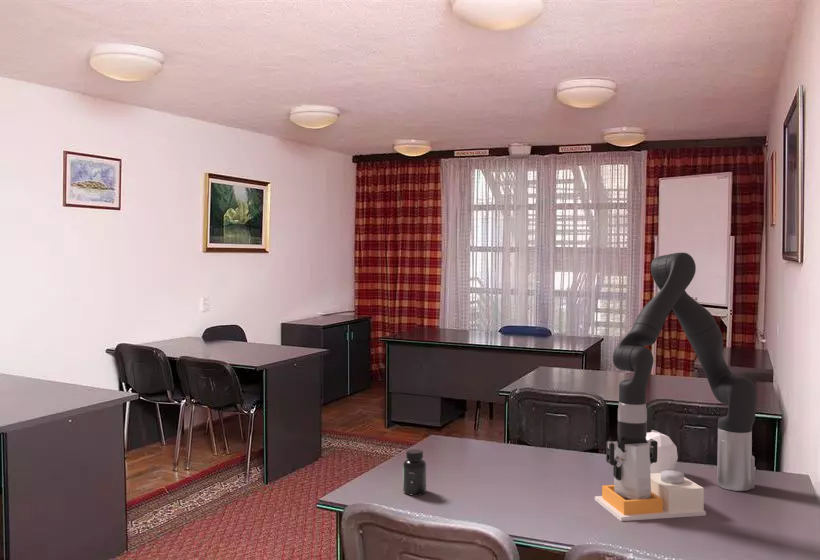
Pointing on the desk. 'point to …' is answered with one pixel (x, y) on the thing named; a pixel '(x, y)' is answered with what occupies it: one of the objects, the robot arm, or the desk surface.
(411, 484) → the supplement bottle
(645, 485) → the skincare box
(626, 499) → the box holder with button
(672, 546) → the desk surface
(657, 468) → the geodesic sphere
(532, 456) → the desk surface
